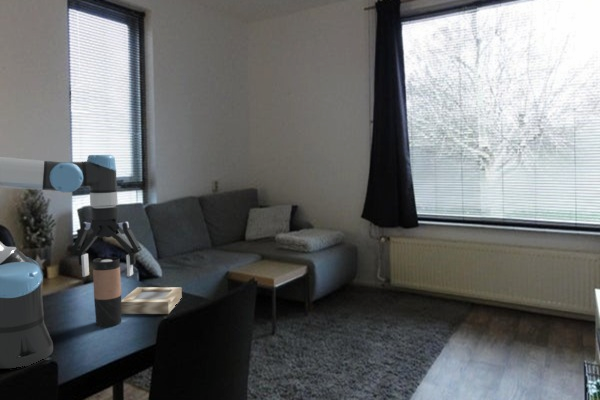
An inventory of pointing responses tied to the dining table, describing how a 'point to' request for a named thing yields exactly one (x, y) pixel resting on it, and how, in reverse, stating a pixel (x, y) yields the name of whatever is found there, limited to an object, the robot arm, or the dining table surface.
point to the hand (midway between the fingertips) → (108, 275)
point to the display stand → (151, 300)
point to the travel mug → (107, 291)
